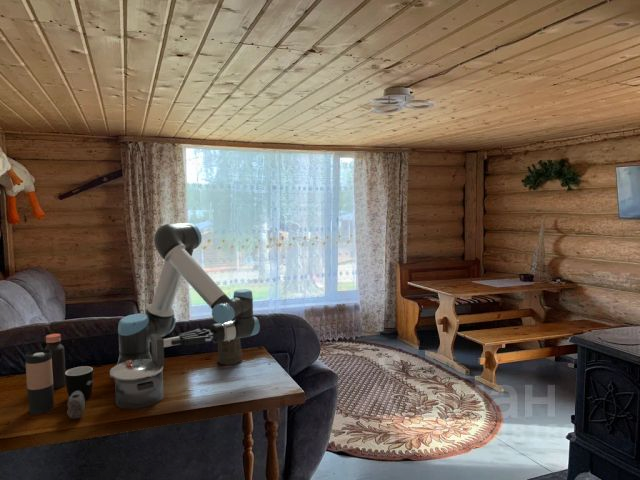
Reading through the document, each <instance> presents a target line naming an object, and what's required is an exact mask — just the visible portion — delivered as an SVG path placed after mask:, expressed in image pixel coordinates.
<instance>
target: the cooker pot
mask: <svg viewBox="0 0 640 480" xmlns="http://www.w3.org/2000/svg"><path fill="white" fill-rule="evenodd" d="M163 370H164V368H163V369H162V371H161V372H160V373H158V374H156V375H154V376H152V377H149V378H145V379H140V380H133V381H121V380H115V379H114V390H115V391H114V392H115V393H114V395H115V405H116V406H117V407H119V408H121V409H126V410H135V409H143V408H146V407H150V406H152V405H155V404H157V403H158V402H160V401H162V399H163V398H164V374H163V373H164V372H163Z"/></svg>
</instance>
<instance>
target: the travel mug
mask: <svg viewBox="0 0 640 480" xmlns="http://www.w3.org/2000/svg"><path fill="white" fill-rule="evenodd" d="M25 377H26V391H27V401H28V402H27V403H28V410H29V413H30V414H31V415H42V414H45V413H49V412H51V411H52V410H53V409H54V407H55V405H54V403H55V402H54V401H55V398H54V389H53V372H52V357H51V350H48V349H45V348H44V349H36V350H32V351H31V350H30V351H29V352H27V353H26V354H25ZM52 408H53V409H52ZM51 409H52V410H51Z"/></svg>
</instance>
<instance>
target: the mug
mask: <svg viewBox="0 0 640 480" xmlns="http://www.w3.org/2000/svg"><path fill="white" fill-rule="evenodd" d="M65 381H66V385H65V386H66V387H65V388H66V391H67V396H68V398H69V397H70V396H71V394H72V393H73V392H75V391H78V390H79V391H81V392H82V393H83V395H84V399H86V400H88V399H89V398H90V397H91V395H92V392H93V385H94V369H93V367H92V366H87V365H85V366H84V365H83V366H82V365H81V366H77V367H73V368H69V369H67V370H65ZM87 398H88V399H87Z"/></svg>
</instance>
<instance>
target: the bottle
mask: <svg viewBox="0 0 640 480" xmlns="http://www.w3.org/2000/svg"><path fill="white" fill-rule="evenodd" d="M45 342H46V346H45V348H44V349H48V350H51V357H52V372H53V390H56V389H55V388H57V389H60V388H59V387H61V388H63V387H64V386H66V381H65V372H66V357H65V346H64V345H63V344H61V342H62V335H61V334H60V333H51V334H47V335H46V336H45ZM62 386H63V387H62Z"/></svg>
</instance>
